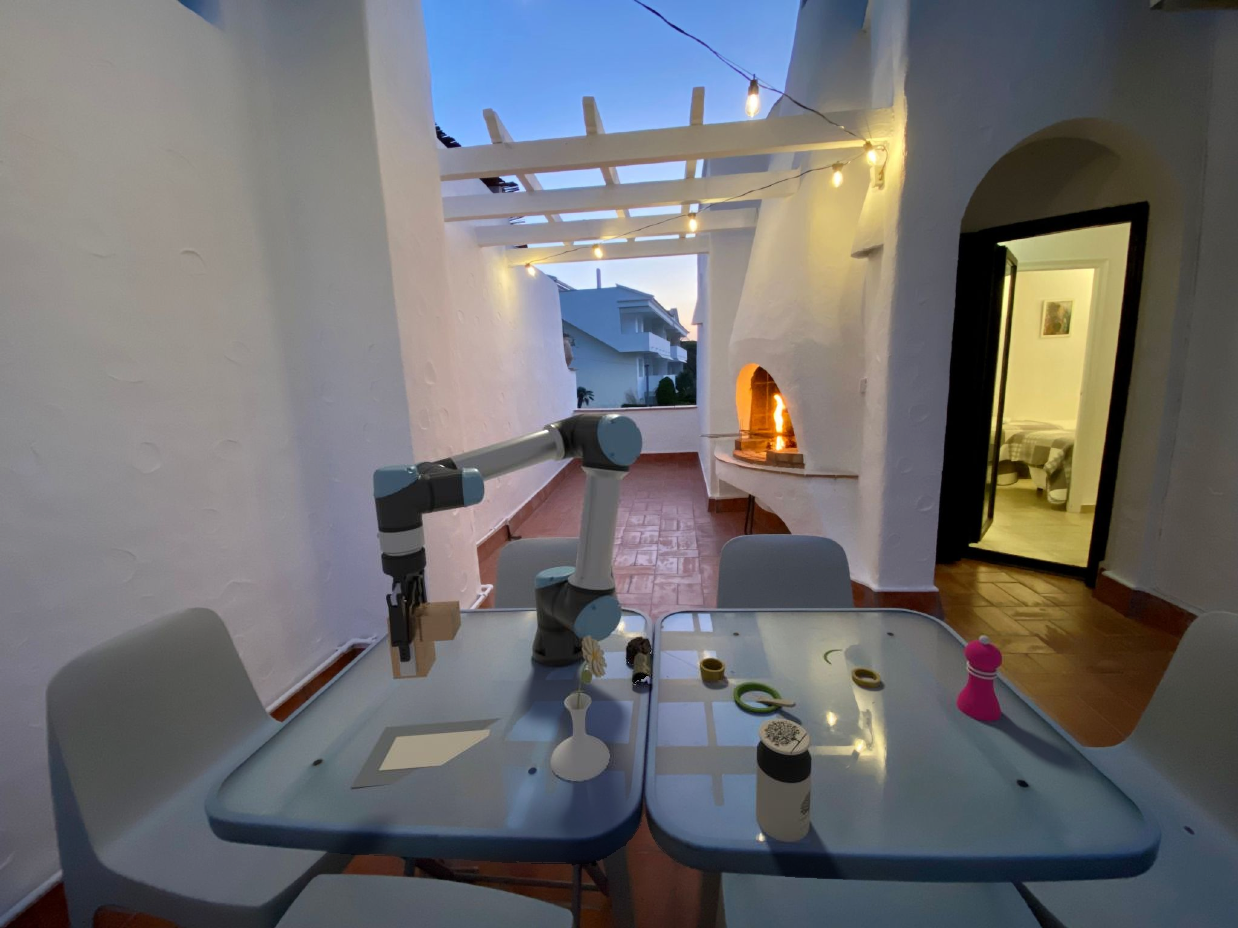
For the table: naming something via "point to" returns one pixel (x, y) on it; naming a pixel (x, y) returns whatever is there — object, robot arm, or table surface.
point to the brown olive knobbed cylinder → (639, 658)
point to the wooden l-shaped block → (428, 634)
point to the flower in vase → (582, 726)
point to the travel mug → (783, 780)
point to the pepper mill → (981, 681)
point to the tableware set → (715, 672)
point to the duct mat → (418, 749)
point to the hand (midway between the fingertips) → (415, 664)
